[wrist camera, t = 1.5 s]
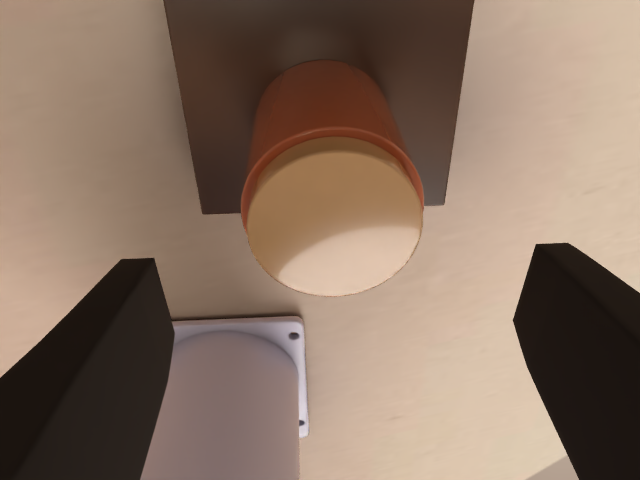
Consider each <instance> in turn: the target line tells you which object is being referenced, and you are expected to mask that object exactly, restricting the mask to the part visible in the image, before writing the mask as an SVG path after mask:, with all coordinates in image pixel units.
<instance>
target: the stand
mask: <svg viewBox="0 0 640 480" xmlns="http://www.w3.org/2000/svg"><path fill="white" fill-rule="evenodd" d="M163 1H164V6H165V12H166V17H167V23H168V28H169V34H170V39H171V45H172V50H173V56H174V61H175V67H176V72H177V78H178V83H179V89H180V94H181V100H182V105H183V111H184V116H185V122H186V127H187V133H188V138H189V144H190V149H191V155H192V160H193V166H194V171H195V177H196V182H197V188H198V193H199V199H200V204H201V210H202V214H229V213H241V197H242V190H243V184H244V178H245V171H246V165H247V159H248V152H249V146H250V140H251V133H252V127H253V121H254V115H255V111H256V107H257V105H258V102H259V100H260V98H261V96H262V94H263V93H264V91H265V90H266V88H267V87H268V86H269V84H270V83H271V82H272V81H273V80H274V79H275V78H276V77H278V76H279V75H280V74H282V73H283V72H284V71H286V70H288V69H290V68H292V67H293V66H296V65H299V64H301V63H305V62H309V61H315V60H334V61H339V62H343V63H347V64H350V65H352V66H354V67H356V68H358V69H360V70H362V71H363V72H365V73H366V74H368V75H369V76H370V77H371V78H372V79H373V80H374V81H375V82H376V83H377V84H378V85H379V87H380V88H381V90H382V91H383V93H384V94H385V97H386V99H387V101H388V103H389V106H390V108H391V110H392V113H393V115H394V117H395V120H396V122H397V125H398V127H399V129H400V132H401V134H402V136H403V139H404V141H405V143H406V146H407V148H408V150H409V153H410V155H411V157H412V160H413V162H414V165H415V167H416V169H417V172H418V174H419V176H420V179H421V183H422V186H423V193H424V206H436V205H444V203H445V196H446V189H447V182H448V175H449V169H450V162H451V155H452V148H453V141H454V135H455V128H456V121H457V114H458V107H459V101H460V94H461V87H462V80H463V73H464V66H465V60H466V53H467V46H468V39H469V32H470V26H471V19H472V12H473V5H474V0H163Z"/></svg>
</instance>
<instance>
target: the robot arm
mask: <svg viewBox="0 0 640 480" xmlns="http://www.w3.org/2000/svg"><path fill="white" fill-rule="evenodd" d="M513 322H514V325H515V329H516V332H517V336H518V339H519V343H520V346H521V349H522V352H523V355H524V358H525V361H526V365H527V368H528V370H529V372H530V374H531V377H532V379H533V381H534V383H535V385H536V388H537V390H538V392H539V394H540V396H541V399H542V401H543V403H544V405H545V407H546V409H547V412H548V414H549V416H550V418H551V420H552V422H553V424H554V427H555V429H556V431H557V433H558V435H559V437H560V439H561V442H562V444H563V446H564V448H565V450H566V452H567V454H568V457H569V459H570V461H571V463H572V465H573V467H574V469H575V471H576V473H577V476H578V478H579V480H640V293H639V292H637V291H636V290H635V289H633V288H632V287H630V286H629V285H628V284H626V283H625V282H624V281H622V280H621V279H619V278H618V277H617V276H615V275H614V274H612V273H611V272H610V271H608V270H607V269H606V268H604V267H603V266H601V265H600V264H598V263H597V262H596V261H594V260H593V259H591V258H590V257H589V256H587V255H586V254H584V253H583V252H581V251H580V250H578V249H577V248H575V247H574V246H572V245H571V244H569V243H552V244H536V246H535V249H534V252H533V256H532V259H531V262H530V266H529V269H528V272H527V276H526V279H525V282H524V285H523V289H522V292H521V295H520V299H519V302H518V305H517V309H516V312H515V315H514V318H513ZM292 332H296V334H291V333H292ZM308 434H309V418H308V399H307V379H306V359H305V340H304V323H303V320H302V319H301V318H299V317H297V316H282V317H259V318H236V319H214V320H191V321H171V317H170V313H169V310H168V306H167V303H166V299H165V295H164V292H163V288H162V285H161V281H160V277H159V274H158V270H157V267H156V263H155V259H154V258H139V259H121V260H120V261H119V262H118V263H117V264H116V265H115V266H114V267H113V268H112V269H111V270H110V271H109V272H108V273H107V274H106V275H105V276H104V277H103V278H102V279H101V280H100V281H99V282H98V283H97V284H96V285H95V286H94V288H93V289H92V290H91V291H90V292H89V293H88V294H87V295H86V296H85V297H84V298H83V299H82V300H81V301H80V302H79V303H78V304H77V305H76V306H75V307H74V308H73V309H72V310H71V311H70V312H69V313H68V314H67V315H66V316H65V317H64V318H63V319H62V320H61V321H60V322H59V323H58V324H57V325H56V326H55V327H54V328H53V329H52V330H51V331H50V332H49V333H48V334H47V335H46V336H45V337H44V338H43V339H42V340H41V341H40V342H39V343H38V344H37V345H36V346H35V347H33V348H32V349H31V350H30V351H29V352H28V353H27V354H26V355H25V356H24V357H23V358H21V359H20V360H19V361H18V362H17V363H16V364H15V365H14V366H13V367H12V368H11V369H9V370H8V371H7V372H6V373H5V374H4V375H3V376H2V377H1V378H0V480H300V462H299V438H304V437H306V436H307V435H308Z"/></svg>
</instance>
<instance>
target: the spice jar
mask: <svg viewBox="0 0 640 480" xmlns="http://www.w3.org/2000/svg"><path fill="white" fill-rule="evenodd" d="M423 209H424V193H423V186H422V183H421V179H420V176H419V174H418V172H417V169H416V167H415V165H414V162H413V160H412V157H411V155H410V153H409V150H408V148H407V146H406V143H405V141H404V139H403V136H402V134H401V132H400V129H399V127H398V125H397V122H396V120H395V117H394V115H393V113H392V110H391V108H390V106H389V103H388V101H387V99H386V97H385V94H384V93H383V91H382V90H381V88H380V87H379V85H378V84H377V83H376V82H375V81H374V80H373V79H372V78H371V77H370V76H369V75H368V74H366V73H365V72H363V71H362V70H360V69H358V68H356V67H354V66H352V65H350V64H347V63H343V62H339V61H334V60H315V61H309V62H305V63H301V64H299V65H296V66H293V67H292V68H290V69H288V70H286V71H284V72H283V73H282V74H280V75H279V76H278V77H276V78H275V79H274V80H273V81H272V82H271V83H270V84H269V86H268V87H267V88H266V90H265V91H264V93H263V94H262V96H261V98H260V100H259V102H258V105H257V107H256V111H255V115H254V121H253V127H252V133H251V140H250V146H249V152H248V159H247V165H246V171H245V178H244V184H243V190H242V197H241V217H242V222H243V226H244V229H245V232H246V234H247V237H248V242H249V245H250V248H251V250H252V253H253V255H254V256H255V258H256V260H257V261H258V263H259V264H260V265H261V267H262V268H263V269H264V270H265V271H266V272H267V273H268V274H269V275H270V276H271V277H273V278H274V279H275V280H276V281H278V282H280V283H281V284H283V285H285V286H286V287H289V288H291V289H293V290H296V291H299V292H302V293H305V294H310V295H315V296H324V297H337V296H346V295H352V294H356V293H360V292H363V291H366V290H369V289H371V288H374V287H376V286H378V285H380V284H382V283H383V282H385V281H387V280H388V279H389V278H391V277H392V276H394V275H395V274H396V273H397V272H398V271H399V270H401V268H402V267H403V266H404V265H405V264H406V263H407V262H408V260H409V259H410V257H411V256H412V255H413V253H414V251H415V249H416V247H417V245H418V242H419V239H420V236H421V232H422V227H423Z"/></svg>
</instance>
